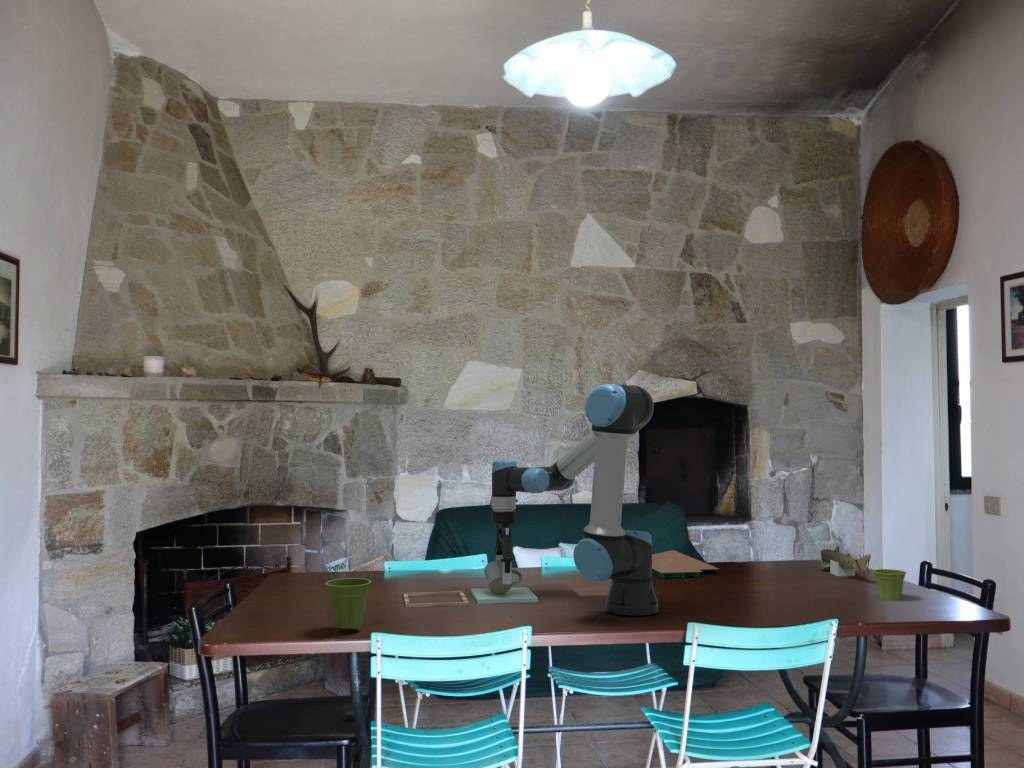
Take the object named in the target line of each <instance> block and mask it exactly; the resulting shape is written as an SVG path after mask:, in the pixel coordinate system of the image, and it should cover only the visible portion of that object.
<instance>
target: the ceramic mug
mask: <svg viewBox="0 0 1024 768" xmlns="http://www.w3.org/2000/svg"><path fill="white" fill-rule="evenodd" d="M483 574H484V576H485V580H486V582H487V586H488V588H489V589H490V590H491V592H492V593H494V594H504V593H506V592H508V591H509V590H510V588H512V587H513V586H519V585H520V584H521V583H522V580H523V574H522V572H520V571H519V570H518V569H515V568H514V569H513V568H512V574H514V575H517V576H518V578H519V579H518V580H517V581H512V584H502V562H501V560H496V559H495V560H492V561H490V562H488V563H487V564H486V565H485V567H484V570H483Z"/></svg>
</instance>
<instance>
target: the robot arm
mask: <svg viewBox="0 0 1024 768" xmlns="http://www.w3.org/2000/svg"><path fill="white" fill-rule="evenodd" d="M654 409H655V403H654V399H653V398H652V395H651V393H650V392H649V391H648V390H647V389H645V388H643V387H642V386H639V385H634V384H633V385H632V384H631V385H629V384H619V383H618V384H617V383H605V384H601V385H598V386H596V387H594V388H593V389H592V390H591V391H590V393H588V395H587V398H586V400H585V405H584V412H585V413H584V414H585V416H586V418H587V421H588V422H590V424H591V432H590V433H588V434H587V435H586V436H585V437H584V438H583V439H581V440H580V441H578V443H577V444H576V445H574V446H573V447H572V448H571V449H570V450H568V451H567V452H566V453H565V454H564V455H563V456H562V457H560V458H559V459H558V460H557V461H556V462H554V463H553V464H552V465H549V466H535V467H534V466H532V467H528V466H527V467H523V466H522V467H521V466H520V467H519V466H518V465H517V461H516V460H515V459H495V460H494V461H493V462H492V463H491V464H492V468H491V509H492V511H491V523H492V524H496V533H495V535H496V536H495V549H494V551H495V560H501V562H502V584H512V582H513V581H512V579H513V578H512V574H513V573H512V569H513V565H512V563H513V561H514V555H513V542H512V540H513V539H512V528H511V527H510V524H511V525H513V524H516V522H517V511H516V509H517V503H518V501H519V500H518V499H517V493H518V492H519V493H529V494H543V493H544V492H556V491H557V492H560V491H565V490H569V489H571V488H572V487H573V485H574V483H575V480H576V478H577V477H578V476H579V475H581V474H582V473H584V471H585V470H586V469H588V468H589V467H591V466H592V465H593V464H594V465H593V478H592V480H593V481H592V491H591V501H590V503H591V504H590V515H589V518H590V519H589V523H588V525H586V526H585V527H584V528H583V535H582V539H581V540H579V541H578V543H577V544H576V545H575V547H574V549H573V553H572V554H573V557H572V558H573V562H574V565H575V567H576V569H577V570H578V571H579V574H580V575H581V576H582V577H583V578H585V579H586V580H589V581H592V582H598V581H600V582H602V581H603V582H604V581H607V580H610V581H611V583H610V586H609V590H608V592H607V596H606V599H605V602H604V605H605V608H604V610H605V611H606V612H608V613H611V614H613V615H614V614H615V615H620V616H629V617H630V616H632V617H633V616H635V617H637V616H639V617H640V616H651V615H655V614H657V613H659V602H658V599H657V597H656V596H657V595H656V593H655V590H654V586H653V573H652V555H653V540H652V535H651V534H650V532H648V531H641V530H631V529H623V528H622V526H621V525H622V514H623V513H622V512H623V500H624V486H625V475H626V461H627V452H628V441H629V439H631V438H632V437H633V436H635V434H637V432H639V431H641V429H643V427H645V426H646V425H647V424H648V423H649V422H650V420H651V418H652V416H653V414H654V412H655V411H654Z"/></svg>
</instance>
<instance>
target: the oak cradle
mask: <svg viewBox="0 0 1024 768" xmlns="http://www.w3.org/2000/svg"><path fill="white" fill-rule="evenodd" d="M402 594H403V600H404V606H405V607H404V608H425V607H428V608H431V607H432V608H433V607H460V606H461V607H465V606H466V607H467V606H470V601H469V600H468V598H467V596H466V595H465V593H464V591H461V590H460V591H459V590H458V591H456V590H455V591H425V592H424V591H422V592H417V591H416V592H413V591H412V592H403V593H402ZM456 595H457V596H459V597H460V599H461V602H460V601H459V602H458V601H456V602H423V603H422V602H420V603H417V602H416V603H413V602H412V603H410V599H409V597H415V596H417V597H418V596H420V597H423V596H425V597H426V596H456Z"/></svg>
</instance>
